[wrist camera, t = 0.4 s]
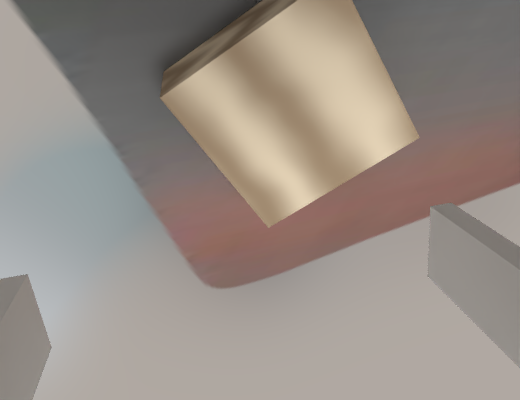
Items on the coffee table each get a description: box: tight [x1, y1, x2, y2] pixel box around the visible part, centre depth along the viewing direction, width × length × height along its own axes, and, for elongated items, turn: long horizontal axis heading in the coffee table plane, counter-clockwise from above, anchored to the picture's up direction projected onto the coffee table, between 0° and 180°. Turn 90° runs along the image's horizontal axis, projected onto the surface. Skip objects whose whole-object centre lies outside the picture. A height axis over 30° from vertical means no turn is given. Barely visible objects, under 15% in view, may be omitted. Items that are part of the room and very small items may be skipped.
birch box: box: [160, 0, 419, 228], centre depth 36 cm, size 14×14×6 cm
